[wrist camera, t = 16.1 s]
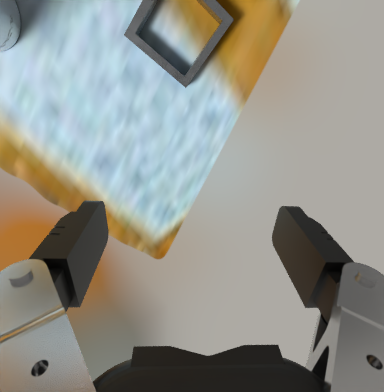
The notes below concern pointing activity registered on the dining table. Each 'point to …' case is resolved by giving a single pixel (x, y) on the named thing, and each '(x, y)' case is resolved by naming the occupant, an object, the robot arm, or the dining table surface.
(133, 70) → the dining table surface
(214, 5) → the can socket
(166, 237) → the dining table surface
